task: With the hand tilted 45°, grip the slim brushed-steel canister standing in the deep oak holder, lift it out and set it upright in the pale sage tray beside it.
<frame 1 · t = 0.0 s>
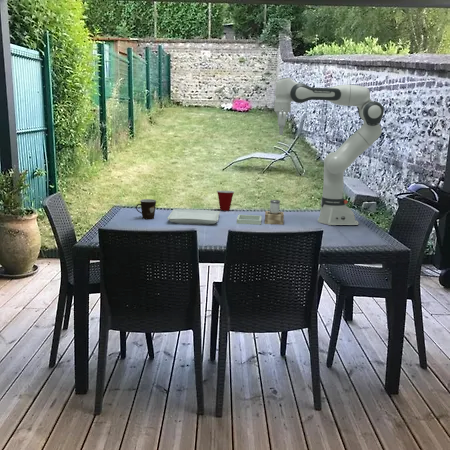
hand: (280, 134, 280), 48 cm above the table, tool pointing down, fingers open, 8 cm apart
holder: (273, 223, 279), on the table
tray: (249, 223, 279), on the table
plastic cup: (224, 210, 313), on the table
canister: (273, 222, 279), point 1 cm above the table, touching holder
coffee mug: (145, 218, 282), on the table
square plate: (194, 220, 283), on the table
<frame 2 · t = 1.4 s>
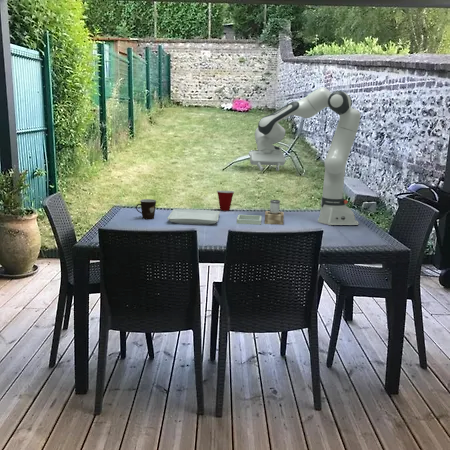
hand: (269, 170, 284), 28 cm above the table, tool tilted 45°, fingers open, 8 cm apart
nothing on the table moved.
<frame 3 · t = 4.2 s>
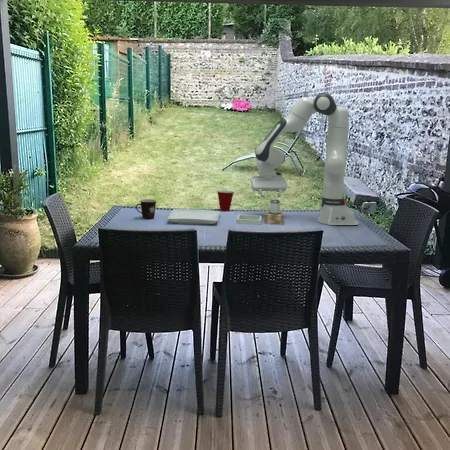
hand: (271, 196, 282), 14 cm above the table, tool tilted 45°, fingers open, 8 cm apart
nothing on the table moved.
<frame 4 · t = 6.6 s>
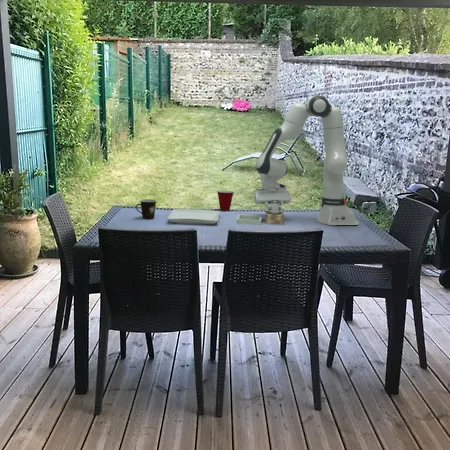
hand: (275, 209, 277), 8 cm above the table, tool tilted 45°, fingers closed on canister, 5 cm apart
canister: (273, 222, 279), point 1 cm above the table, touching gripper, holder
everything else where it was.
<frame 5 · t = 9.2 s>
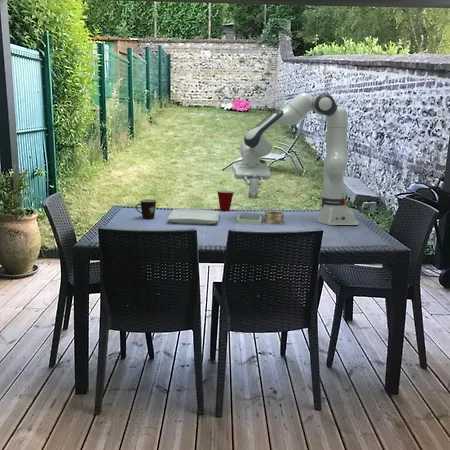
hand: (254, 184, 273), 21 cm above the table, tool tilted 45°, fingers closed on canister, 5 cm apart
canister: (253, 197, 276), point 14 cm above the table, touching gripper
everything else where it was.
when the fingers open (9 cm above the table, at t = 11.9 s): canister drops 1 cm, resting on tray.
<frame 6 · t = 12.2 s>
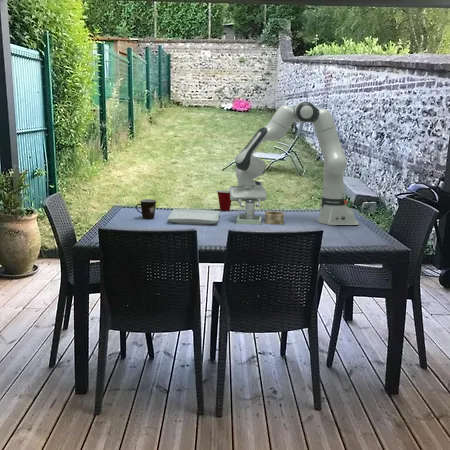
hand: (250, 206, 276), 9 cm above the table, tool tilted 45°, fingers open, 7 cm apart
canister: (249, 221, 278), point 1 cm above the table, touching tray
everything else where it was.
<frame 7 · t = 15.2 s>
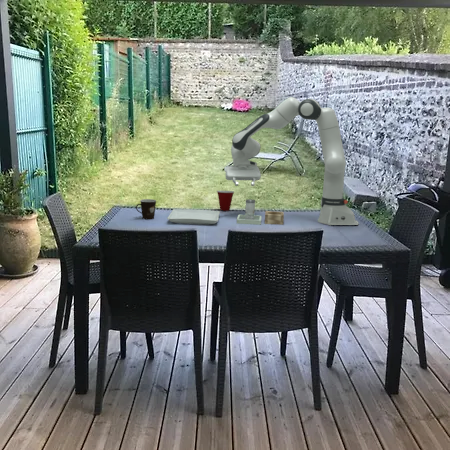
hand: (244, 185, 286), 19 cm above the table, tool tilted 45°, fingers open, 8 cm apart
nothing on the table moved.
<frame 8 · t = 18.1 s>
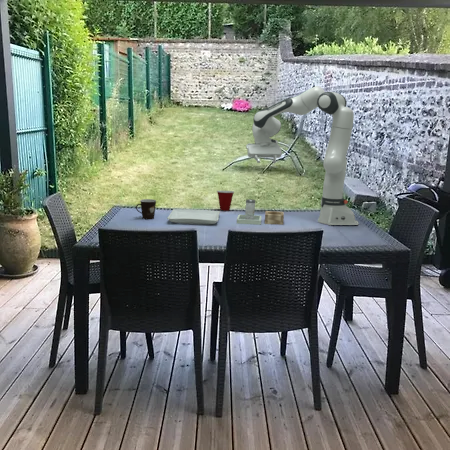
hand: (266, 162, 293), 31 cm above the table, tool tilted 45°, fingers open, 8 cm apart
nothing on the table moved.
at the end: canister inside the target area on the tray (0.1 cm from its centre), point 0.8 cm above the tray's base; canister tilted 1°; the gripper is holding nothing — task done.
